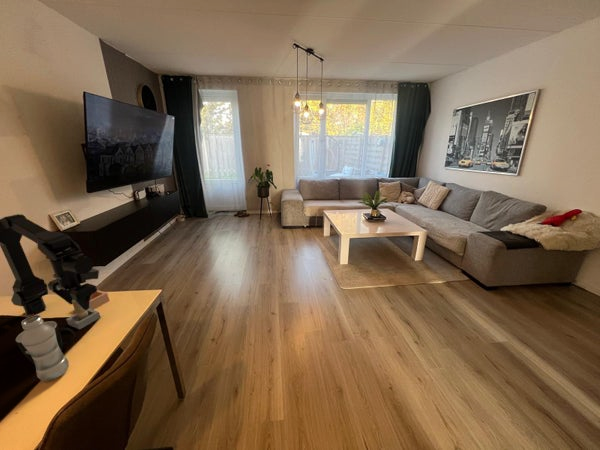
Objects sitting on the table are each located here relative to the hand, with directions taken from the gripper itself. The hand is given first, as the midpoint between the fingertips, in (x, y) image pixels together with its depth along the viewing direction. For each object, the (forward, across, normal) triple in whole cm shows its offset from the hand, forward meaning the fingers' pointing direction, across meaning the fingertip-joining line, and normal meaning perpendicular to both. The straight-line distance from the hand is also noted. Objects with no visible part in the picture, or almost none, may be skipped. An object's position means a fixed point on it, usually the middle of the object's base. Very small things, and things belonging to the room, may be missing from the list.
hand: (79, 306), depth 90 cm
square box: (+8, +8, -8) cm, 14 cm away
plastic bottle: (+8, -18, +16) cm, 25 cm away
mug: (+8, -8, +12) cm, 16 cm away
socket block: (+8, 0, 0) cm, 8 cm away
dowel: (+7, 0, 0) cm, 7 cm away
